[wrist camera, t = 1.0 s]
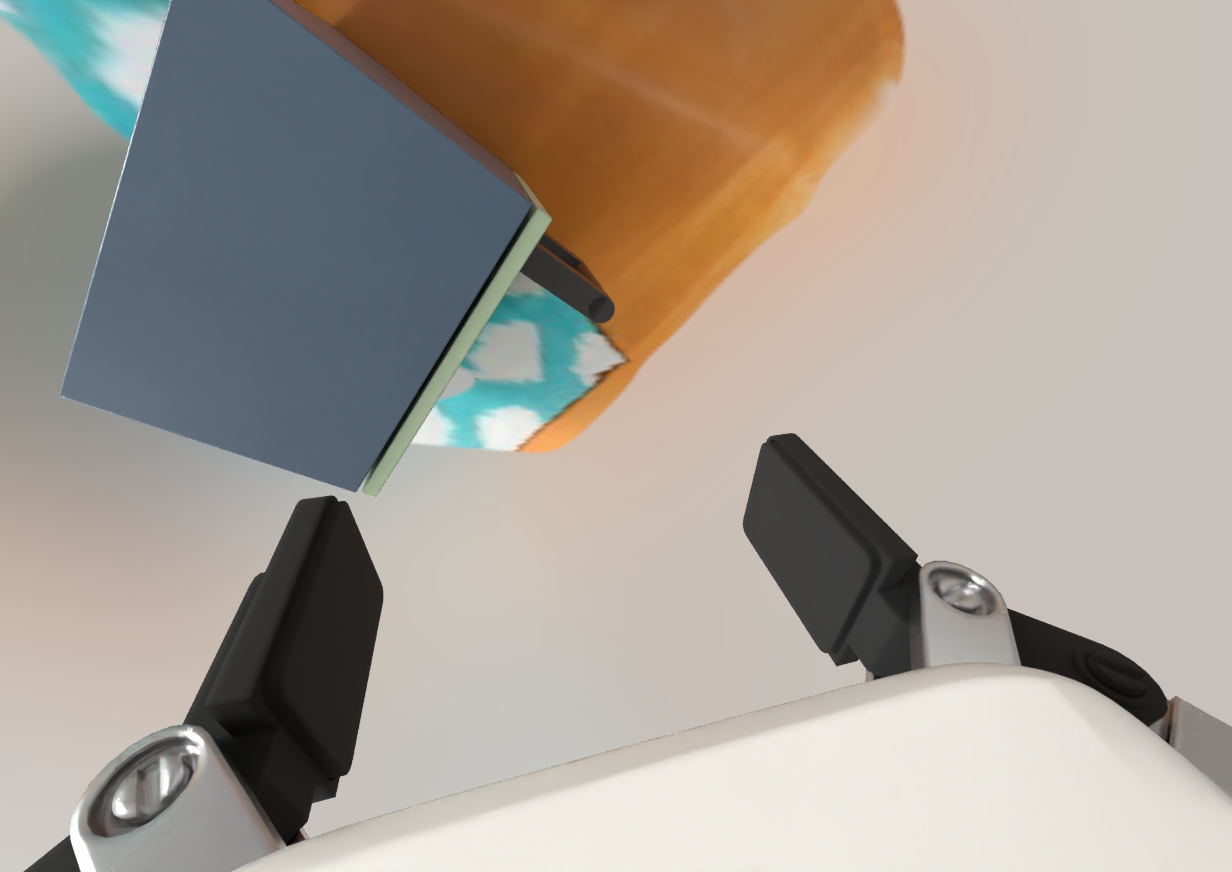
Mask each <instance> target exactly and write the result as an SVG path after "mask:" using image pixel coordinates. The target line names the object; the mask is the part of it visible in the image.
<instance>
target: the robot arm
mask: <svg viewBox="0 0 1232 872" xmlns="http://www.w3.org/2000/svg"><path fill="white" fill-rule="evenodd" d="M743 528H744V532H745V534H746V536H747V538H748V539H749V541H750V542H751V544H752V545H753V547H754V549H755V550H756V552H757V553H758V555H759V556H760V558H761V559H762V561H763V562H764V564H765V566H766V567H767V568H768V570H769V572H770V573H771V575H772V576H773V578H774V579H775V581H776V582H777V584H778V586H779V587H780V589H781V590H782V592H783V593H784V595H785V597H786V598H787V600H788V601H789V602H790V604H791V606H792V607H793V609H794V610H795V612H796V613H797V615H798V617H799V618H800V620H801V621H802V623H803V624H804V626H805V627H806V629H807V631H808V632H809V634H810V635H811V637H812V638H813V640H814V642H815V643H816V644H817V646H818V647H819V649H820V650H821V651H822V652H824V653H828V654H829V655H830V657H831V658H832V660H833V661H834V663H835V664H836V666H839V665H843V664H847V663H851V662H855V661H858V659H860V661H861V662H862V664H863V665H864V666H865V668H866V682H864V683H860V684H856V685H852V686H848V687H844V688H841V689H837V690H833V691H829V692H826V693H822V694H818V695H814V696H810V697H807V698H803V699H800V700H796V701H792V702H788V703H784V704H781V705H777V706H773V707H769V708H766V709H762V710H758V711H754V712H751V713H747V714H744V715H739V716H736V717H732V718H728V719H725V720H721V721H718V722H714V723H710V724H706V725H703V726H699V727H695V728H692V729H688V730H684V731H681V732H677V733H673V734H670V735H666V736H663V737H659V738H655V739H651V740H648V741H644V742H640V743H637V744H633V745H629V746H626V747H622V748H619V749H615V750H611V751H607V752H604V753H601V754H597V755H593V756H590V757H586V758H582V759H579V760H575V761H571V762H568V763H565V764H561V765H557V766H553V767H550V768H547V769H543V770H539V771H535V772H532V773H528V774H525V775H521V776H518V777H514V778H510V779H507V780H503V781H499V782H496V783H492V784H489V785H485V786H482V787H478V788H474V789H471V790H467V791H463V792H460V793H456V794H453V795H449V796H446V797H442V798H439V799H436V800H432V801H429V802H425V803H422V804H419V805H416V806H412V807H409V808H405V809H402V810H398V811H395V812H392V813H388V814H385V815H382V816H378V817H375V818H372V819H368V820H365V821H362V822H358V823H355V824H351V825H348V826H345V827H342V828H339V829H336V830H333V831H330V832H327V833H324V834H322V835H319V836H316V837H313V838H309V836H308V835H307V833H306V832H305V830H304V829H303V826H304V825H305V823H307V821H308V818H309V814H310V810H311V805H312V803H315V802H319V801H322V800H326V799H330V798H334V797H336V792H337V787H338V782H339V778H340V776H344V775H346V774H348V772H349V770H350V768H351V764H352V760H353V755H354V750H355V745H356V739H357V734H358V729H359V724H360V719H361V713H362V708H363V703H364V697H365V692H366V687H367V682H368V677H369V671H370V667H371V662H372V656H373V651H374V646H375V641H376V636H377V630H378V625H379V620H380V615H381V610H382V604H383V587H382V584H381V581H380V579H379V577H378V574H377V572H376V570H375V567H374V565H373V563H372V560H371V558H370V555H369V553H368V550H367V548H366V546H365V543H364V541H363V539H362V536H361V534H360V531H359V529H358V527H357V524H356V522H355V519H354V517H353V515H352V512H351V510H350V507H349V505H348V503H347V502H345V501H340V502H338V500H337V498H336V497H335V496H324V497H317V498H309V499H303V500H300V501H299V502H298V503H297V505H296V507H295V509H294V511H293V513H292V515H291V518H290V520H289V522H288V524H287V526H286V529H285V531H284V533H283V535H282V537H281V539H280V541H279V544H278V546H277V548H276V550H275V552H274V554H273V556H272V559H271V561H270V563H269V565H268V567H267V569H266V571H265V572H264V573H260V574H259V575H257V576H256V577H255V578H254V580H253V581H252V583H251V584H250V586H249V588H248V590H247V592H246V595H245V596H244V598H243V601H242V603H241V605H240V607H239V609H238V611H237V613H236V615H235V617H234V619H233V621H232V624H231V626H230V628H229V630H228V632H227V634H226V636H225V638H224V640H223V642H222V644H221V646H220V648H219V650H218V652H217V654H216V657H215V659H214V661H213V663H212V665H211V667H210V669H209V671H208V673H207V675H206V677H205V679H204V681H203V683H202V685H201V687H200V689H199V691H198V694H197V696H196V698H195V700H194V702H193V704H192V706H191V708H190V710H189V712H188V714H187V716H186V718H185V720H184V723H183V725H177V726H171V727H168V728H165V729H162V730H160V731H157V732H155V733H152V734H150V735H148V736H146V737H145V738H143V739H141V740H139V741H138V742H136V743H134V744H133V745H131V746H129V747H128V748H127V749H126V750H124V751H123V752H122V753H121V754H119V755H118V756H117V757H116V758H115V759H113V760H112V761H111V762H109V763H108V764H107V766H106V767H105V768H104V769H103V770H102V771H101V772H100V773H99V774H98V775H97V776H96V777H95V778H94V779H93V781H92V782H91V783H90V784H89V786H88V787H87V789H86V791H85V792H84V793H83V795H82V797H81V798H80V800H79V801H78V803H77V805H76V808H75V811H74V813H73V816H72V819H71V822H70V835H69V836H68V837H66V838H65V839H64V840H63V841H61V842H60V843H59V844H58V845H57V846H55V847H54V848H53V849H52V850H50V851H49V852H48V853H46V854H45V855H44V856H43V857H42V858H40V859H39V860H38V861H37V862H35V863H34V864H33V865H31V866H30V867H29V868H28V869H27V870H25V871H24V872H1232V727H1231V726H1229V725H1227V724H1226V723H1223V722H1222V721H1220V720H1218V719H1216V718H1214V717H1213V716H1211V715H1209V714H1208V713H1206V712H1204V711H1202V710H1200V709H1199V708H1197V707H1195V706H1193V705H1191V704H1190V703H1188V702H1186V701H1184V700H1182V699H1181V698H1179V697H1177V696H1175V697H1174V698H1172V699H1171V700H1170V701H1169V700H1167V699H1166V697H1165V695H1164V693H1163V691H1162V690H1161V688H1160V686H1159V685H1158V684H1157V683H1156V682H1155V681H1154V680H1153V679H1152V677H1151V676H1150V675H1149V674H1148V673H1147V672H1146V671H1145V670H1143V669H1142V668H1141V667H1140V666H1138V665H1137V664H1136V663H1135V662H1133V661H1132V660H1130V659H1129V658H1127V657H1125V656H1124V655H1122V654H1121V653H1119V652H1117V651H1115V650H1113V649H1111V648H1109V647H1106V646H1105V645H1103V644H1100V643H1097V642H1094V641H1092V640H1089V639H1087V638H1084V637H1082V636H1079V635H1076V634H1074V633H1071V632H1068V631H1066V630H1063V629H1060V628H1058V627H1055V626H1052V625H1050V624H1047V623H1045V622H1042V621H1039V620H1037V619H1034V618H1032V617H1029V616H1026V615H1023V614H1021V613H1018V612H1016V611H1013V610H1010V609H1008V608H1007V606H1006V603H1005V601H1004V599H1003V597H1002V595H1001V593H1000V592H999V591H998V590H997V589H996V588H995V586H994V585H993V584H992V583H991V582H989V581H988V580H987V579H986V578H984V577H983V576H982V575H980V574H978V573H977V572H975V571H973V570H971V569H970V568H967V567H964V566H962V565H960V564H957V563H952V562H947V561H932V562H929V563H926V564H925V565H924V566H923V567H921V566H920V565H919V564H918V563H917V562H916V561H915V560H916V559H917V557H918V555H917V554H916V553H915V552H914V551H913V550H912V549H911V548H910V547H909V546H908V545H907V544H906V543H905V542H904V541H903V540H902V539H901V538H900V537H899V536H898V535H897V534H896V533H895V532H894V531H893V530H892V529H891V528H890V527H889V526H888V525H887V524H886V523H885V522H884V521H883V520H882V519H881V518H880V517H879V516H878V515H877V514H876V513H875V512H874V511H873V510H872V509H871V508H870V507H869V506H868V505H867V504H866V503H865V502H864V501H863V500H862V499H861V498H860V497H859V496H858V495H857V494H856V493H855V492H854V491H853V490H852V489H851V488H850V487H849V486H848V485H847V484H846V483H845V482H844V481H843V480H842V479H841V478H840V477H839V476H838V475H837V474H836V473H835V472H834V471H833V470H832V469H830V467H829V466H828V465H827V464H826V463H825V462H824V461H823V460H822V459H821V458H820V457H818V455H816V454H815V453H814V451H813V450H811V449H810V448H809V447H808V446H807V445H806V444H805V443H804V442H803V441H802V440H801V439H800V438H799V437H798V436H797V435H796V434H793V433H789V434H782V435H775V436H770V437H769V438H768V439H767V442H766V443H763V444H762V446H761V449H760V453H759V457H758V461H757V466H756V470H755V474H754V478H753V482H752V486H751V490H750V494H749V498H748V502H747V507H746V511H745V515H744V519H743Z"/></svg>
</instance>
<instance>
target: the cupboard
mask: <svg viewBox="0 0 1232 872" xmlns="http://www.w3.org/2000/svg"><path fill="white" fill-rule="evenodd" d="M531 206H532V203H531V201H530V199H529V198H528V196H527V194H526V193H525V191H524V190H523V188H522V186H521V185H520V183H519V182H518V180H517V179H516V177H515V175H514V174H513V172H512V171H511V169H510V167H508V166H507V165H506V164H505V163H503V162H502V161H501V160H500V159H498V158H497V157H496V156H495V155H493V154H492V153H491V152H490V151H488V150H487V149H486V148H485V147H483V146H482V145H481V144H480V143H478V142H477V141H476V140H475V139H473V138H472V137H471V136H470V135H468V134H467V133H466V132H465V131H463V130H462V129H461V128H460V127H458V126H457V125H456V124H455V123H453V122H452V121H451V120H450V119H448V118H447V117H446V116H445V115H443V114H442V113H441V112H440V111H438V110H437V109H436V108H435V107H433V106H432V105H431V104H430V103H428V102H427V101H426V100H425V99H423V98H422V97H421V96H420V95H418V94H417V93H416V92H415V91H413V90H412V89H411V88H410V87H408V86H407V85H406V84H405V83H403V82H402V81H401V80H400V79H398V78H397V77H396V76H395V75H393V74H392V73H391V72H390V71H388V70H387V69H386V68H385V67H383V66H382V65H381V64H380V63H378V62H377V61H376V60H375V59H373V58H372V57H371V56H370V55H368V54H367V53H366V52H365V51H363V50H362V49H361V48H360V47H358V46H357V45H356V44H355V43H353V42H352V41H351V40H350V39H348V38H347V37H346V36H345V35H343V34H342V33H341V32H340V31H338V30H337V29H336V28H335V27H333V26H332V25H330V24H329V23H327V22H326V21H324V20H322V19H321V18H319V17H318V16H316V15H314V14H313V13H311V12H309V11H308V10H306V9H305V8H303V7H301V6H300V5H298V4H297V3H295V2H293V1H292V0H170V2H169V5H168V9H167V12H166V16H165V20H164V23H163V27H162V30H161V34H160V37H159V41H158V44H157V48H156V52H155V55H154V59H153V62H152V66H151V69H150V73H149V76H148V80H147V84H146V87H145V91H144V94H143V98H142V101H141V105H140V108H139V112H138V116H137V119H136V123H135V126H134V130H133V133H132V137H131V140H130V144H129V148H128V151H127V155H126V158H125V162H124V166H123V169H122V173H121V176H120V180H119V183H118V187H117V191H116V194H115V198H114V201H113V205H112V208H111V212H110V216H109V219H108V222H107V226H106V229H105V233H104V237H103V240H102V244H101V247H100V251H99V254H98V258H97V261H96V265H95V269H94V272H93V276H92V279H91V283H90V286H89V290H88V294H87V297H86V301H85V304H84V308H83V311H82V315H81V319H80V322H79V325H78V329H77V333H76V336H75V340H74V343H73V347H72V350H71V354H70V357H69V361H68V365H67V368H66V372H65V375H64V379H63V382H62V386H61V389H60V393H59V395H60V396H61V397H63V398H67V399H70V400H73V401H76V402H79V403H82V404H85V405H88V406H91V407H94V408H98V409H100V410H103V411H107V412H110V413H113V414H116V415H119V416H122V417H125V418H128V419H131V420H134V421H137V422H140V423H143V424H147V425H150V426H153V427H156V428H159V429H162V430H165V431H168V432H171V433H174V434H177V435H180V436H184V437H186V438H190V439H193V440H196V441H199V442H202V443H205V444H208V445H211V446H214V447H217V448H220V449H223V450H226V451H229V452H233V453H236V454H239V455H242V456H245V457H248V458H251V459H254V460H258V461H260V462H263V463H266V464H270V465H273V466H276V467H279V468H282V469H285V470H288V471H291V472H294V473H297V474H300V475H304V476H306V477H309V478H312V479H316V480H319V481H322V482H325V483H328V484H331V485H334V486H337V487H340V488H343V489H346V490H350V491H353V492H356V491H357V490H358V488H359V487H360V485H361V484H362V482H363V480H364V479H365V477H366V475H367V474H368V472H369V470H370V469H371V467H372V466H373V464H374V462H375V461H376V459H377V457H378V456H379V454H380V453H381V451H382V449H383V448H384V446H385V444H386V443H387V441H388V440H389V438H390V436H391V435H392V433H393V431H394V430H395V428H396V426H397V425H398V423H399V422H400V420H401V418H402V417H403V415H404V413H405V412H406V410H407V409H408V407H409V405H410V404H411V402H412V400H413V399H414V397H415V395H416V394H417V392H418V391H419V389H420V387H421V386H422V384H423V382H424V381H425V379H426V378H427V376H428V374H429V373H430V371H431V369H432V368H433V366H434V365H435V363H436V361H437V360H438V358H439V356H440V355H441V353H442V351H443V350H444V348H445V347H446V345H447V343H448V342H449V340H450V338H451V337H452V335H453V334H454V332H455V330H456V329H457V327H458V325H459V324H460V322H461V321H462V319H463V317H464V316H465V314H466V312H467V311H468V309H469V307H470V306H471V304H472V303H473V301H474V299H475V298H476V296H477V294H478V293H479V291H480V290H481V288H482V286H483V285H484V283H485V281H486V280H487V278H488V277H489V275H490V273H491V272H492V270H493V268H494V267H495V265H496V263H497V262H498V260H499V259H500V257H501V255H502V254H503V252H504V250H505V249H506V247H507V246H508V244H509V242H510V241H511V239H512V237H513V236H514V234H515V233H516V231H517V229H518V228H519V226H520V224H521V223H522V221H523V219H524V218H525V216H526V215H527V213H528V211H529V210H530V208H531Z"/></svg>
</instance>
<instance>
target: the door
mask: <svg viewBox="0 0 1232 872" xmlns="http://www.w3.org/2000/svg"><path fill="white" fill-rule="evenodd" d="M513 174H514V175H515V177H516V179H517V180H518V182H519V183H520V185H521V186H522V188H523V190H524V191H525V193H526V194H527V196H528V198H529V199H530V201H531V203H532V206H531V208H530V210H529V211H528V213H527V215H526V216H525V218H524V219H523V221H522V223H521V224H520V226H519V228H518V229H517V231H516V233H515V234H514V236H513V237H512V239H511V241H510V242H509V244H508V246H507V247H506V249H505V250H504V252H503V254H502V255H501V257H500V259H499V260H498V262H497V263H496V265H495V267H494V268H493V270H492V272H491V273H490V275H489V277H488V278H487V280H486V281H485V283H484V285H483V286H482V288H481V290H480V291H479V293H478V294H477V296H476V298H475V299H474V301H473V303H472V304H471V306H470V307H469V309H468V311H467V312H466V314H465V316H464V317H463V319H462V321H461V322H460V324H459V325H458V327H457V329H456V330H455V332H454V334H453V335H452V337H451V338H450V340H449V342H448V343H447V345H446V347H445V348H444V350H443V351H442V353H441V355H440V356H439V358H438V360H437V361H436V363H435V365H434V366H433V368H432V369H431V371H430V373H429V374H428V376H427V378H426V379H425V381H424V382H423V384H422V386H421V387H420V389H419V391H418V392H417V394H416V395H415V397H414V399H413V400H412V402H411V404H410V405H409V407H408V409H407V410H406V412H405V413H404V415H403V417H402V418H401V420H400V422H399V423H398V425H397V426H396V428H395V430H394V431H393V433H392V435H391V436H390V438H389V440H388V441H387V443H386V444H385V446H384V448H383V449H382V451H381V453H380V454H379V456H378V457H377V459H376V461H375V462H374V464H373V466H372V467H371V469H370V470H369V472H368V474H367V476H366V479H365V483H364V486H363V489H362V493H365V494H367V495H370V496H374V497H376V496H377V494H378V493H379V491H380V490H381V488H382V487H383V485H384V483H385V482H386V480H387V479H388V477H389V476H390V474H391V472H392V471H393V469H394V468H395V466H396V465H397V463H398V461H399V460H400V458H401V457H402V455H403V454H404V452H405V451H406V449H407V447H408V446H409V444H410V443H411V441H412V440H413V438H414V436H415V435H416V433H417V432H418V430H419V429H420V427H421V425H422V424H423V422H424V421H425V419H426V418H427V416H428V414H429V413H430V411H431V410H432V408H433V407H434V405H435V403H436V402H437V400H438V399H439V397H440V396H441V394H442V392H443V391H444V389H445V388H446V386H447V384H448V383H449V381H450V380H451V378H452V377H453V375H454V374H455V372H456V370H457V369H458V367H459V366H460V364H461V363H462V361H463V359H464V358H465V356H466V355H467V353H468V352H469V350H470V348H471V347H472V345H473V344H474V342H475V341H476V339H477V337H478V336H479V334H480V333H481V331H482V330H483V328H484V326H485V325H486V323H487V322H488V320H489V319H490V317H491V315H492V314H493V312H494V311H495V309H496V308H497V306H498V304H499V303H500V301H501V300H502V298H503V297H504V295H505V293H506V292H507V290H508V289H509V287H510V286H511V284H512V283H513V281H514V279H515V278H516V276H517V275H518V273H519V272H521V273H523V274H524V275H526V276H527V277H529V278H530V279H531V280H533V281H534V282H536V283H537V284H539V285H540V286H542V287H543V288H545V289H546V290H548V291H549V292H551V293H552V294H554V295H555V296H557V297H558V298H560V299H561V300H562V301H564V302H565V303H567V304H568V305H570V306H571V307H573V308H574V309H576V310H577V311H579V312H580V313H582V314H583V315H585V316H586V317H588V318H589V319H591V320H592V321H593V322H596V323H605V322H607V321H609V320H610V319H611V318H612V316H613V314H614V311H615V307H614V303H613V302H612V300H611V299H610V297H609V296H608V295H607V293H606V292H605V291H604V289H603V288H602V286H601V285H600V284H599V282H598V281H597V280H596V278H595V277H594V275H593V274H592V273H591V271H590V270H589V269H588V267H587V266H586V264H585V263H584V262H583V261H582V260H581V259H580V258H579V257H577V256H576V255H575V254H573V253H572V252H571V251H569V250H568V249H567V248H565V247H564V246H563V245H561V244H560V243H559V242H557V241H556V240H555V239H553V238H552V237H551V236H549V235H548V234H547V233H545V231H546V229H547V228H548V226H549V224H550V223H551V221H552V218H551V217H550V215H549V214H548V213H547V211H546V210H545V208H544V207H543V206H542V204H541V203H540V202H539V200H538V199H537V197H536V196H535V195H534V193H533V192H532V191H531V189H530V188H529V186H528V185H527V184H526V182H525V181H524V180H523V178H522V177H521V176H519V175H518V174H517V173H516V172H514V171H513Z"/></svg>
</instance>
